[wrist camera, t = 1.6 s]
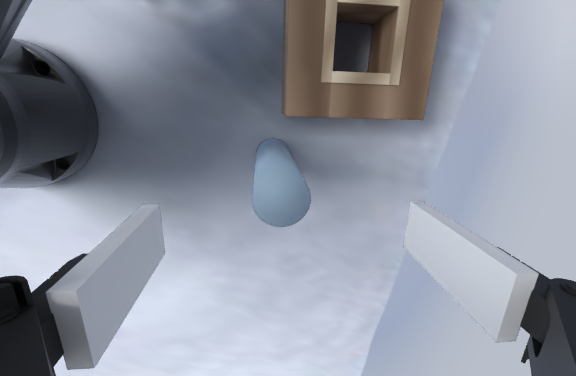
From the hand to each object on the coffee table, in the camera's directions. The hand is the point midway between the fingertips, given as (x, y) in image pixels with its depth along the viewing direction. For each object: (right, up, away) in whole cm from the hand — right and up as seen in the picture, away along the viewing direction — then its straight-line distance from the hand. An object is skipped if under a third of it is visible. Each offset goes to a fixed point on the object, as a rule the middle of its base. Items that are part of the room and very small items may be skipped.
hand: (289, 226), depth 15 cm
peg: (-2, +6, +19) cm, 21 cm away
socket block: (+6, +17, +17) cm, 25 cm away
